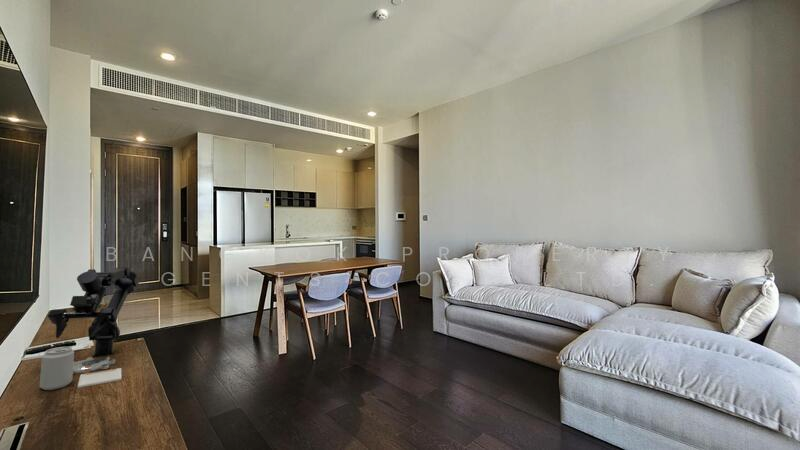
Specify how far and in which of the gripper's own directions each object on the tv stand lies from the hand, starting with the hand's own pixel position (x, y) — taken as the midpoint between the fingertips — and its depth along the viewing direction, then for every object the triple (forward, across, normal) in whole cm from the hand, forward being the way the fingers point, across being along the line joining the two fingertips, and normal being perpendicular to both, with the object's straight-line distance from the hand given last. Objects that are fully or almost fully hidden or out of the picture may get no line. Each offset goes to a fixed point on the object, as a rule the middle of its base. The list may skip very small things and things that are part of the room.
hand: (74, 336), depth 119 cm
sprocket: (+4, +1, +16) cm, 16 cm away
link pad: (+13, +10, +7) cm, 18 cm away
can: (+15, 0, +4) cm, 16 cm away
